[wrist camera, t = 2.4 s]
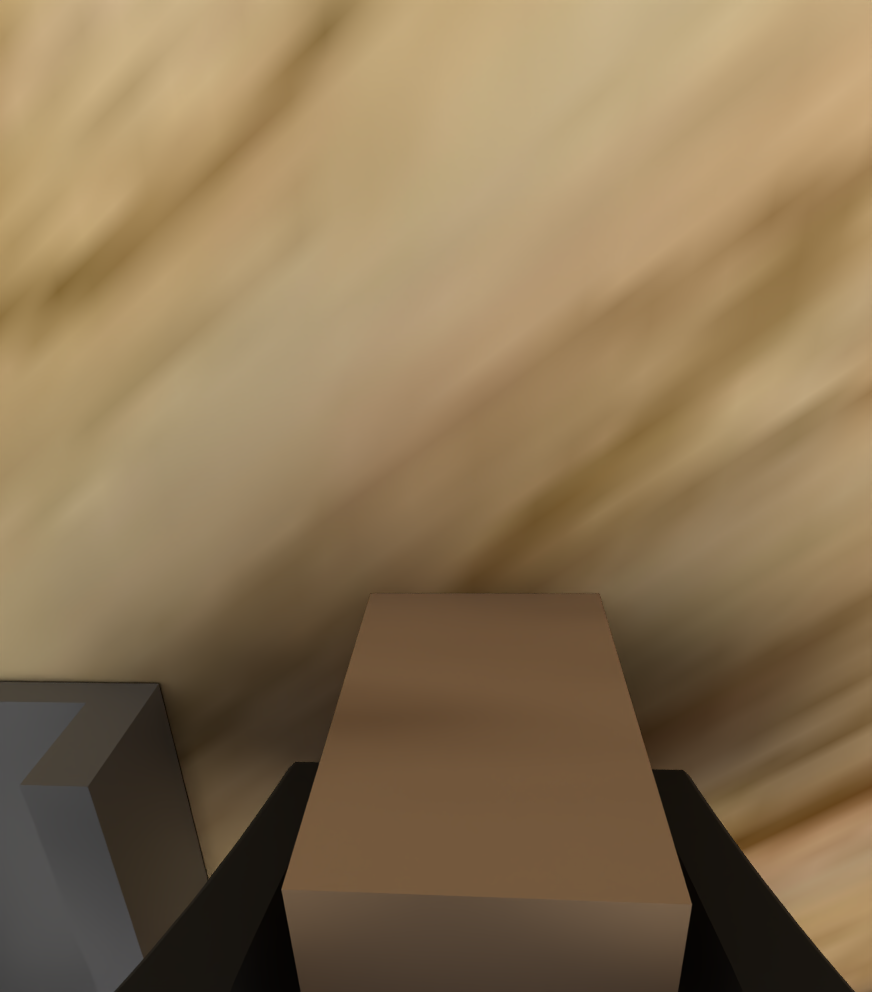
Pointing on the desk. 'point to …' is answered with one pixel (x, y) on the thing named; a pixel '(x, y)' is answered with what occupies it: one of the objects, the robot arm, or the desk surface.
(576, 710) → the walnut block
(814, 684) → the desk surface
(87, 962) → the gray u-shaped channel bracket
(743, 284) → the desk surface
